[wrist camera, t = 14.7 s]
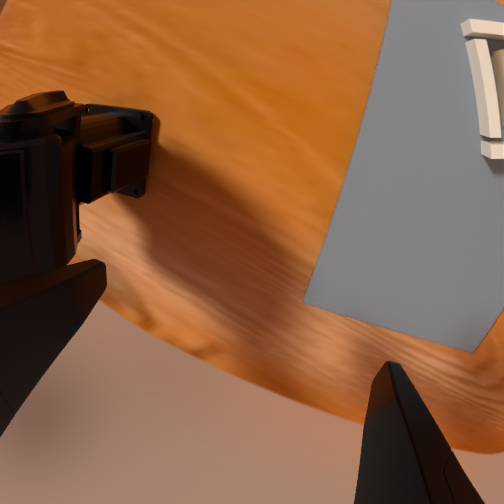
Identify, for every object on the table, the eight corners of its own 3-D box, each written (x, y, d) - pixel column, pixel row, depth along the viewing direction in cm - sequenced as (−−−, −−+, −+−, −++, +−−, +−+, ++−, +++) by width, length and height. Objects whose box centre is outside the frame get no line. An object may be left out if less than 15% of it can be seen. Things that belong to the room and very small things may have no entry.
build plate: (304, 294, 23) (302, 302, 23) (398, -36, 12) (400, -42, 11) (469, 345, 21) (472, 352, 21) (580, 70, 10) (587, 70, 9)
